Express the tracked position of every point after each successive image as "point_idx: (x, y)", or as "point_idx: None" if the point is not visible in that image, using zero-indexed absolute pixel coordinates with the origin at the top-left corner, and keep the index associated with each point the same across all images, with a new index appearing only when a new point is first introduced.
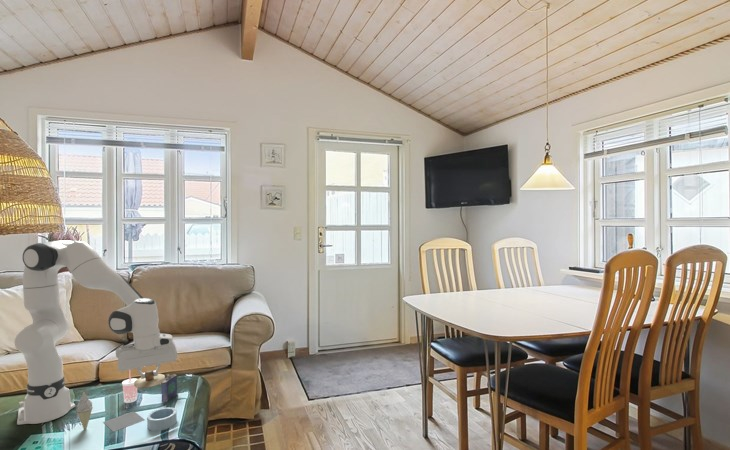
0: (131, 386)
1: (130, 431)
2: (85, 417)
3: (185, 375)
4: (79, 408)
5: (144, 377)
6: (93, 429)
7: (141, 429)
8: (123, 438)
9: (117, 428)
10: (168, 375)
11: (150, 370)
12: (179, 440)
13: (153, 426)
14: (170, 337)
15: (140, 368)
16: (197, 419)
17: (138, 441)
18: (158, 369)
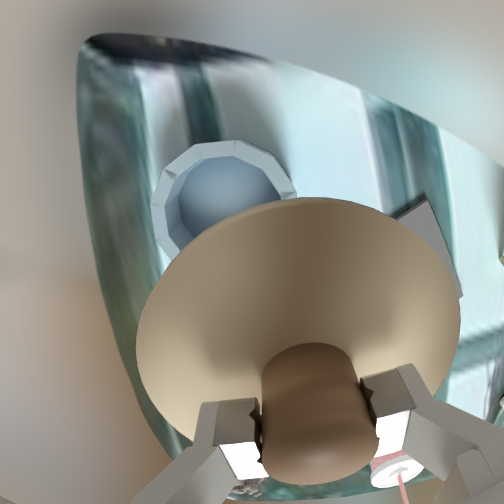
0: (393, 454)
1: (363, 190)
2: None
3: (238, 499)
4: None
5: (375, 379)
6: (482, 258)
7: (319, 192)
8: (378, 135)
9: (417, 224)
10: (250, 488)
11: (308, 483)
12: (132, 53)
13: (255, 147)
14: None
15: (476, 479)
16: (94, 215)
17: (306, 84)
18: (171, 466)
